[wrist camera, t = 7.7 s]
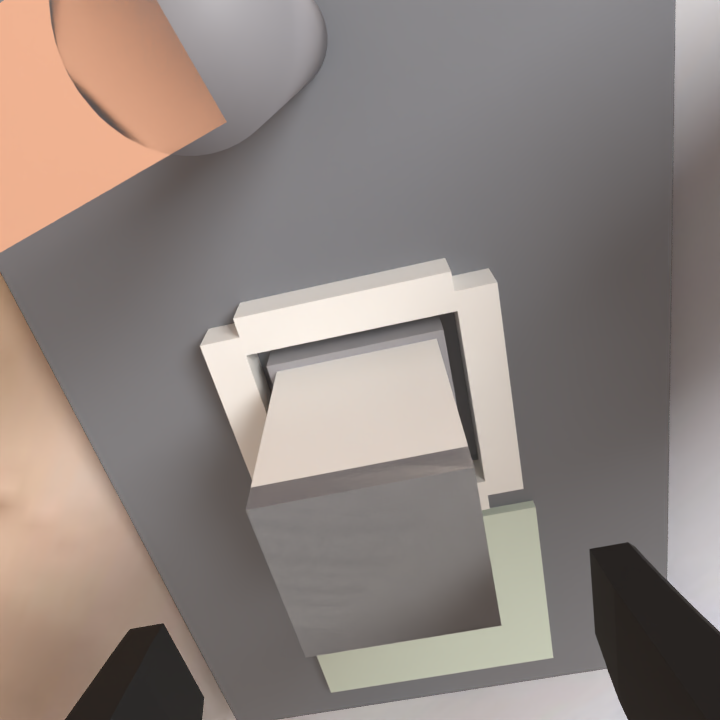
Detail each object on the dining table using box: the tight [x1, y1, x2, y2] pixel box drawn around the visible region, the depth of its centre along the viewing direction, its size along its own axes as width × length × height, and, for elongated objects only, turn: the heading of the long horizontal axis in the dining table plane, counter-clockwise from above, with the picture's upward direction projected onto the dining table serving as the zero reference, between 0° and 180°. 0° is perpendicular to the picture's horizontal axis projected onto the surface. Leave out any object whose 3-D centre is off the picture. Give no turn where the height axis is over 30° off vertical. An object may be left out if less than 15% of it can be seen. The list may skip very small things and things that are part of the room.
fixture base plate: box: [0, 0, 675, 720], centre depth 17 cm, size 16×24×2 cm, turn 13°
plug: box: [246, 315, 502, 657], centre depth 14 cm, size 4×4×6 cm
